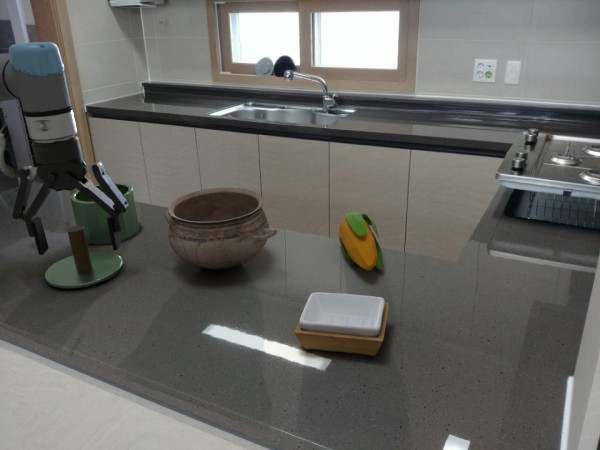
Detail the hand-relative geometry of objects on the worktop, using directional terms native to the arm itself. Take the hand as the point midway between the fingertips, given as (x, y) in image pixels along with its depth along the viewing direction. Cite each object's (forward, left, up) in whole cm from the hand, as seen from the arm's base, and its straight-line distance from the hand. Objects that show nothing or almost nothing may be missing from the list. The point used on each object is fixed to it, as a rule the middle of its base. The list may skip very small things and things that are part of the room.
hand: (80, 249), depth 100 cm
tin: (-10, +16, -5) cm, 20 cm away
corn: (+46, +26, -5) cm, 53 cm away
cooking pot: (+22, +14, -5) cm, 26 cm away
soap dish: (+53, +1, -5) cm, 53 cm away
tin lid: (0, 0, -4) cm, 4 cm away
